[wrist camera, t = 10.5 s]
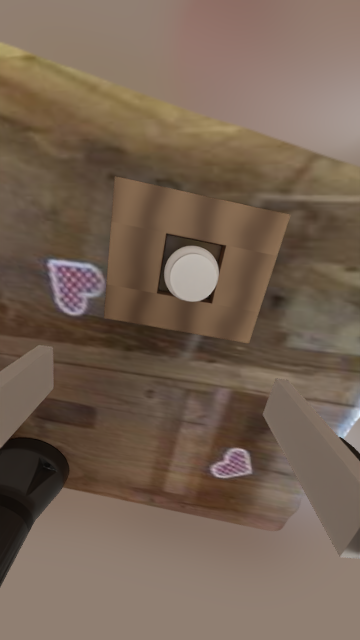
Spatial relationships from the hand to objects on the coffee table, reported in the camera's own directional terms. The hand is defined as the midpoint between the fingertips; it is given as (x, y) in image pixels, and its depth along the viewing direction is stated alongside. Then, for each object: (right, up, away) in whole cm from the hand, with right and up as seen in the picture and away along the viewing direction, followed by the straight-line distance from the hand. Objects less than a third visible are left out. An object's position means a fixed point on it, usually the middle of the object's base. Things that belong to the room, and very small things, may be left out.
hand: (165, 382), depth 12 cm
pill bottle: (+2, +11, +19) cm, 22 cm away
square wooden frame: (+2, +11, +18) cm, 22 cm away
